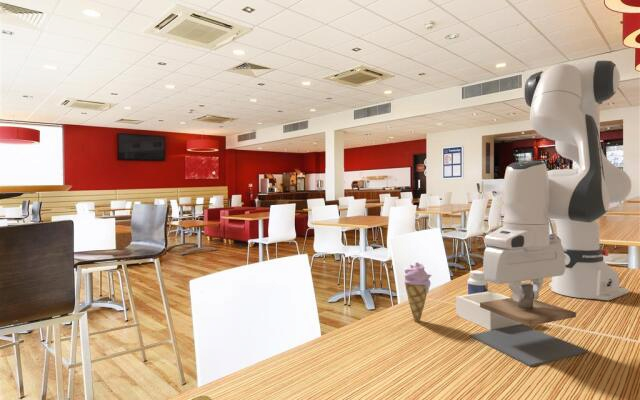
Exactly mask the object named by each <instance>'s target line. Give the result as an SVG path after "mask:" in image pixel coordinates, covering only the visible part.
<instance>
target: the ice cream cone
mask: <svg viewBox="0 0 640 400" xmlns="http://www.w3.org/2000/svg"><path fill="white" fill-rule="evenodd" d="M409 267H410V268H409V269H404V273H405V274H404V281H403V282H404V285H405V292H406V295H407V299H408V304H409V307H410V311H411V314H412V317H413V320H414V322H415V323H419V322H420V321H421V318H422V314H423V310H424V307H425V303H426V298H427V295H428V293H429V289H430V287H431V281H430V278H431V277H432V274H430V273H427V272H426V270H425V266H424V264H422V263H419V262H417V261H416V262H415V265H413V264H410V266H409Z"/></svg>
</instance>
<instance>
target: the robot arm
mask: <svg viewBox="0 0 640 400" xmlns="http://www.w3.org/2000/svg"><path fill="white" fill-rule="evenodd" d="M620 82H621V76H620V71H619V69H618V67H617V64H616V63H614V62H613V61H612V60H597V61H596V62H595V61H594V62H581V63H574V64H569V63H561V64H555V65H552V66H551V67H548V68H547V69H546V70H544V71H542V70H541V71H539V72H535V73H533V74H531V75H530V76H529V77H528V78H527V79H526V81H525V83H524V88H523V97H524V100H525V103H526V105H527V106H528V107H529V108H530V110H529V123H530V125H531V127H532V129H533V130H534V131H535V132H536V133H537V134H538V135H540V136H541V137H543V138H546V139H548V140H551V141H554V143H555V145H554V146H555V147H554V148H555V151H556V153H558V155H560V157H562V158H564V159H567V160H570V161H573V162H575V163H576V164H577V165H578V166H579V168H566V169H564V168H563V169H551V170H550V169H549V170H548V168H547V164H546V162H544V161H542V160H523V161H517V162H512V163H510V164H509V165H508V166H506V168H505V173H504V178H503V188H502V204H503V207H504V217H503V219H502V226H501V227H499V228H497V229H496V230H494V231H491V232H489V233H488V234H486V235H485V236H484V239H483V240H484V245H486V248H485V249H484V252H483V263H482V264H483V265H482V266H483V267H482V269H483V270H482V271H483V274H484V277H485V278H484V279H485V280H487V283H492V284H496V285H502V284H507V285H508V287H509V289H510V291H511V293H512V298H513V300H514V301H517V302H520V301H524V293H522V292H521V290H520V288H519V286H521V283H522V282H525V281H530V282H531V283H530V284H532V285H533V299H534V300H537V299H539V298H540V291H541V288H542V286H543V284H544V279H546V278H551V281H550V282H549V283H548V286H549V287H550V290H551V292H554V293H556V294H559V295H563V296H566V297H570V298H571V297H573V298H579V299H592V300H599V301H600V300H601V301H610V300H615V299H617V298H618V297H621V296H625V295H626V294H629V293H630V290H629V289H628V288H626V287H623V286H621V285H620V276H619V273H618V272H617V271H616V270H615V269H613V268H612V267H611V266H610V265H609V264H608V263H606V262H605V261H604V260H605V259H604V256H605V257H608V256H609V254H610V251H609V249H603V248H600V225H599V223H598V222H597V221H596V220H598V219H600V218H601V217H602V216H604V215H605V214H607V212H608V209H609V206H610V204H614V203H619V202H623V201H624V200H625V199H626V198H627V197H628V196H629V195H630V193H631V191H632V180H631V177H630V176H629V175H628V173H627V172H626V171H624V170H623V169H622V168H619V167H617V166H616V165H614V164H613V163H612V162H611V161H610V160H609V159H608V158H607V157H606V156H605V154H604V151H603V149H602V144H601V138H600V137H601V136H600V115H599V107H598V106H599V105H602V104H603V102H606V101H608V100H610V99H611V98H612V97H613V96H614V95H615V94H616V93H617V90H618V88H619V85H620ZM550 220H554V223H555V227H556V228H555V230H556V233H550V223H551V222H550Z"/></svg>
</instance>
